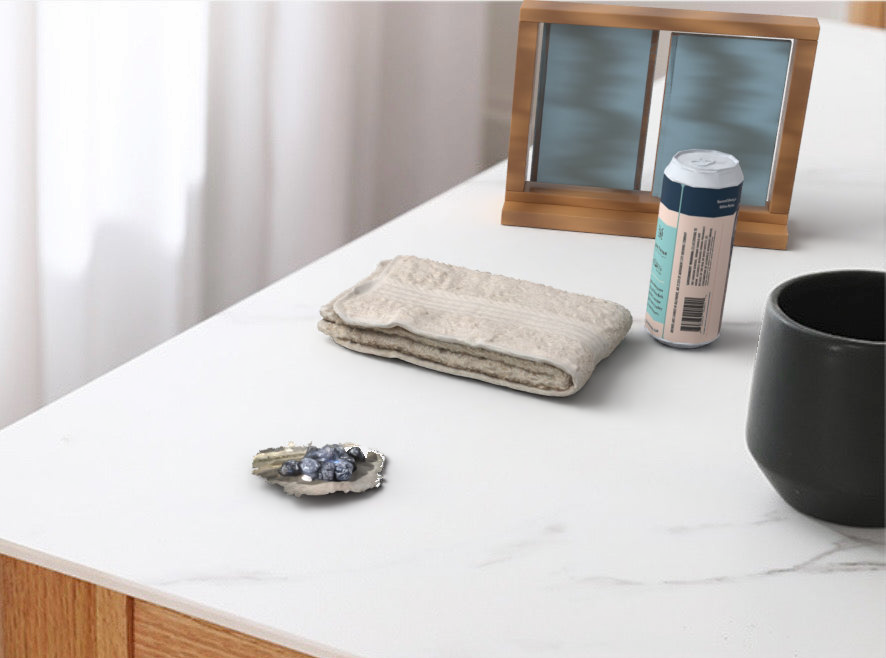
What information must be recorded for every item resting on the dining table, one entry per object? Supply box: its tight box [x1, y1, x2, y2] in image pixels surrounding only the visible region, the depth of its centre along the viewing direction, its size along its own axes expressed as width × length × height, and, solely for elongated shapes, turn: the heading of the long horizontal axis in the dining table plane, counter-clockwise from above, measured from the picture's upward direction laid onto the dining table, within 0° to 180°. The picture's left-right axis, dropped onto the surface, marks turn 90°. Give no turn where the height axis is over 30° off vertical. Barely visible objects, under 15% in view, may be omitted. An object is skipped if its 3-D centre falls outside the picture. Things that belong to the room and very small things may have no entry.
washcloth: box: [316, 254, 634, 398], centre depth 100 cm, size 12×18×3 cm, turn 61°
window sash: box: [529, 23, 661, 191], centre depth 120 cm, size 8×5×12 cm, turn 77°
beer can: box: [643, 149, 744, 349], centre depth 99 cm, size 5×5×12 cm
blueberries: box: [251, 440, 385, 498], centre depth 85 cm, size 7×8×2 cm
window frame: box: [500, 0, 821, 251], centre depth 117 cm, size 21×7×16 cm, turn 77°
